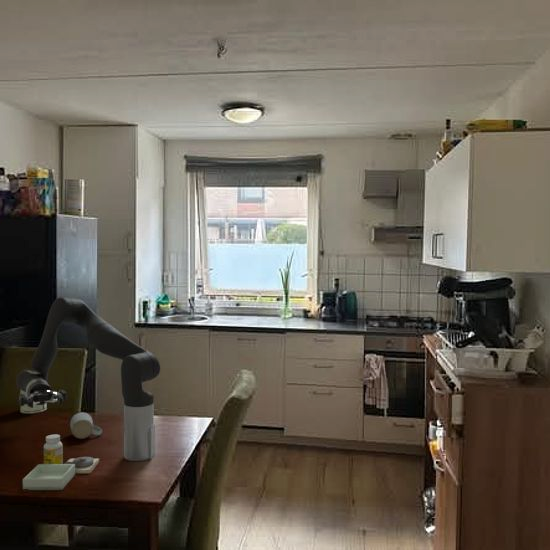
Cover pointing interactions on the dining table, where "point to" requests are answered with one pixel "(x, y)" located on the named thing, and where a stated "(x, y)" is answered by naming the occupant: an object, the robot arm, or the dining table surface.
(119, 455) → the dining table surface
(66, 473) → the tray
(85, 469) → the beige board with disc
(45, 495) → the dining table surface
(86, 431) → the ceramic mug
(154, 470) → the dining table surface
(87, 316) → the robot arm
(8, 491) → the dining table surface
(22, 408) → the coffee can
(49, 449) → the supplement bottle
